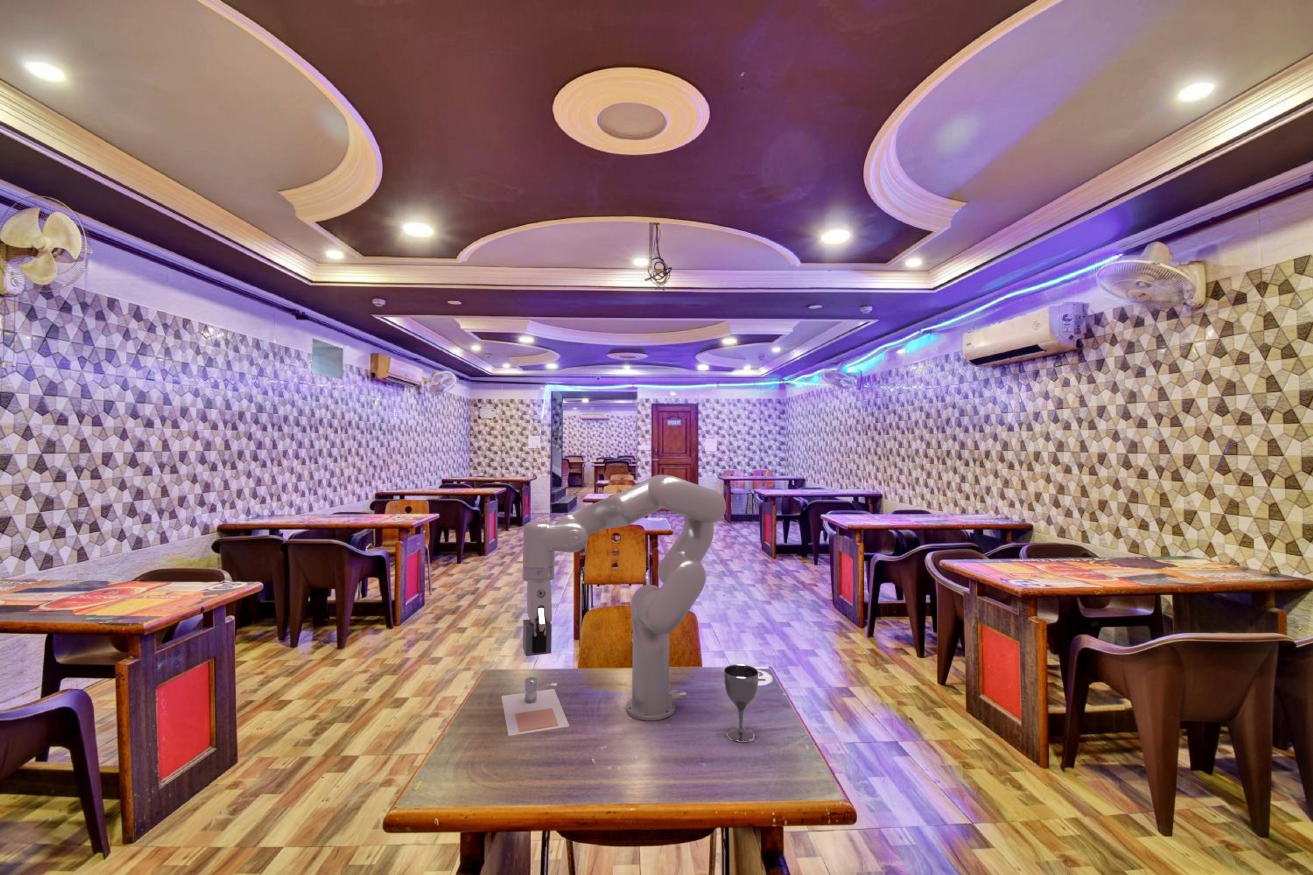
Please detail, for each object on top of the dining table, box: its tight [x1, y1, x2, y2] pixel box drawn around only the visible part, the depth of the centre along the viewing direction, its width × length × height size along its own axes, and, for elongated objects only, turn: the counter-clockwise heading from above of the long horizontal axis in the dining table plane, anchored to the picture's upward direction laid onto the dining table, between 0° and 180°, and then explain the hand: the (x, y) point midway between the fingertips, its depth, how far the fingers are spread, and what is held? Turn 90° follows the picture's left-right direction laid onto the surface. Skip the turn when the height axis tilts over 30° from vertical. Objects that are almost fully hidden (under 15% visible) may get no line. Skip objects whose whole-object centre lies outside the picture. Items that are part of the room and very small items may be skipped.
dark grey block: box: [522, 618, 553, 657], centre depth 135 cm, size 6×6×7 cm
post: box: [524, 676, 538, 704], centre depth 145 cm, size 3×3×6 cm
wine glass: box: [723, 663, 759, 742], centre depth 131 cm, size 8×8×15 cm
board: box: [501, 688, 570, 737], centre depth 139 cm, size 14×22×2 cm, turn 20°
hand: (537, 646), depth 135 cm, fingers closed on dark grey block, 5 cm apart
